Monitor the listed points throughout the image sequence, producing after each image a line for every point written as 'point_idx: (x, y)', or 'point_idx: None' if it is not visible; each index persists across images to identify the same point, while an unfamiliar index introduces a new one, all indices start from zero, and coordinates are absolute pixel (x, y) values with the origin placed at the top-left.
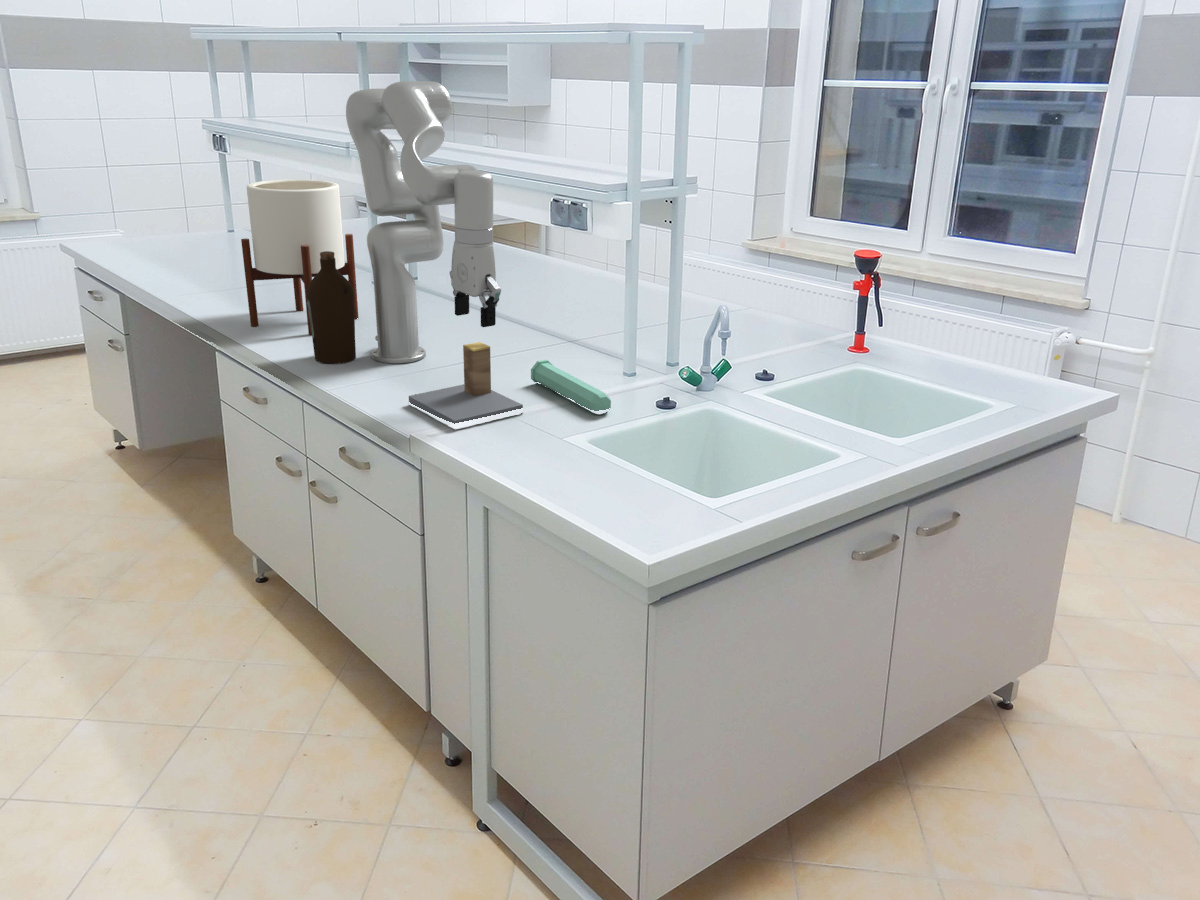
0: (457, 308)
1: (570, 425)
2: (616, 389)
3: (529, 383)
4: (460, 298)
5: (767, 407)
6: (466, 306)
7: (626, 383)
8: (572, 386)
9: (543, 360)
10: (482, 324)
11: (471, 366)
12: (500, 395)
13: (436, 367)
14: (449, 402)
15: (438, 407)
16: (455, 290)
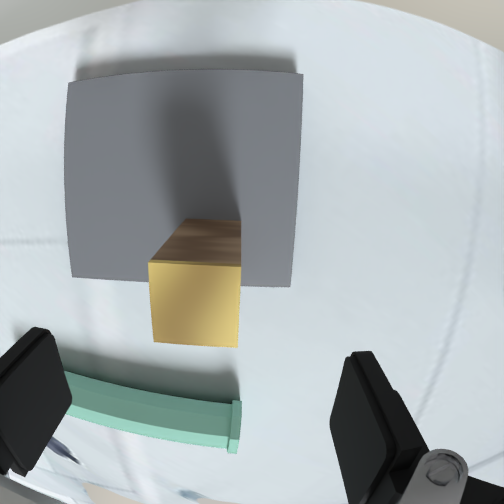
0: (360, 387)
1: (8, 298)
2: (135, 455)
3: (250, 393)
4: (372, 465)
5: (26, 476)
6: (342, 445)
7: (154, 475)
8: (83, 398)
9: (234, 448)
10: (29, 335)
11: (184, 241)
12: None
13: (464, 296)
14: (182, 131)
15: (166, 87)
16: (437, 496)
